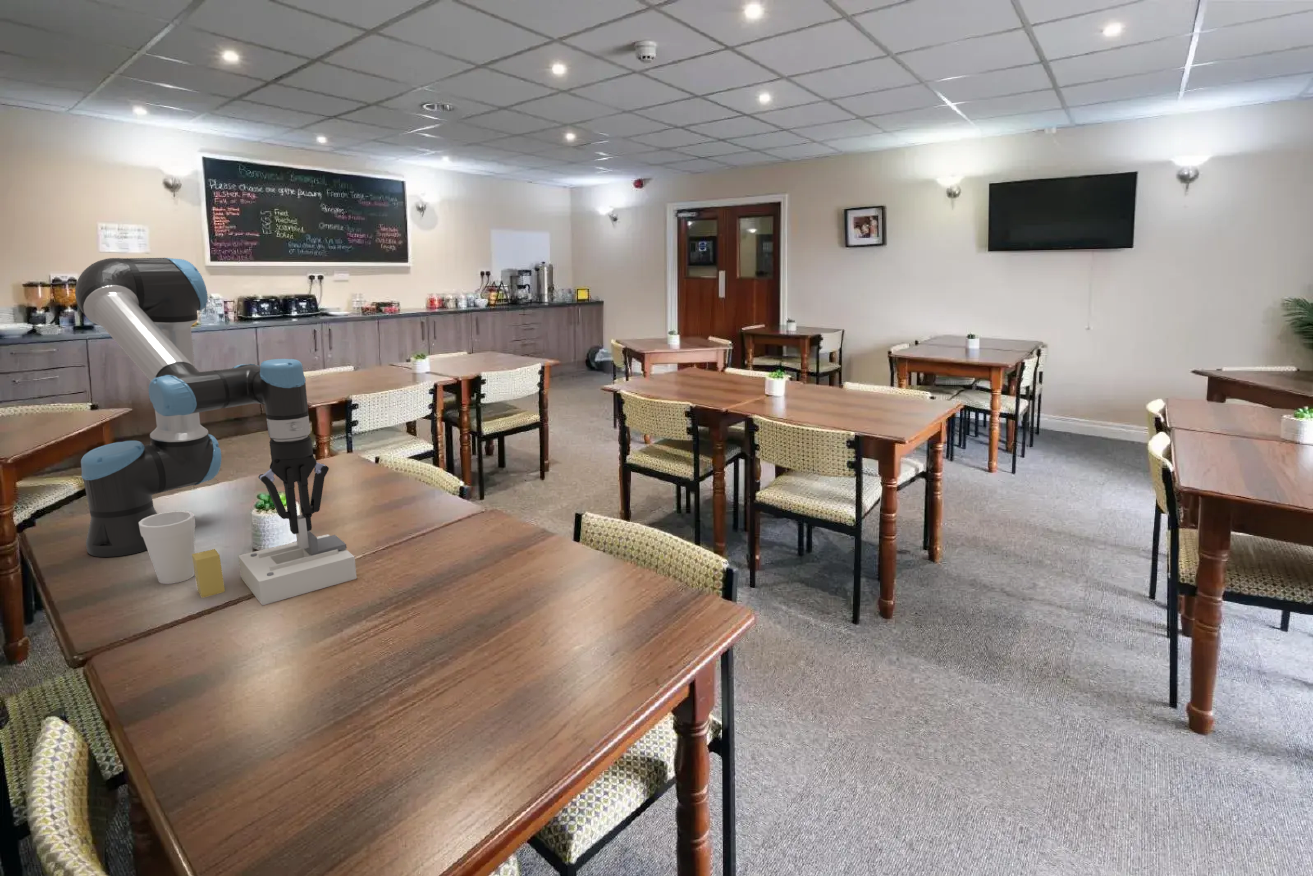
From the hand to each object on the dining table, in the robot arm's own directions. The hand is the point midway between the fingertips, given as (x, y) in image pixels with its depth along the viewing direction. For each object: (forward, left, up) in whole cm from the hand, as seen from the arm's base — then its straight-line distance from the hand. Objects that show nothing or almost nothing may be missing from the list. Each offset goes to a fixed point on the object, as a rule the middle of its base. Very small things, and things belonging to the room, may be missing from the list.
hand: (303, 546), depth 147 cm
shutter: (0, +4, -2) cm, 4 cm away
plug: (-5, -16, -7) cm, 19 cm away
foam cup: (-17, -20, -7) cm, 28 cm away
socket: (0, -2, -7) cm, 7 cm away
